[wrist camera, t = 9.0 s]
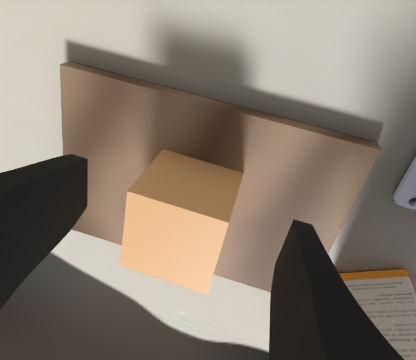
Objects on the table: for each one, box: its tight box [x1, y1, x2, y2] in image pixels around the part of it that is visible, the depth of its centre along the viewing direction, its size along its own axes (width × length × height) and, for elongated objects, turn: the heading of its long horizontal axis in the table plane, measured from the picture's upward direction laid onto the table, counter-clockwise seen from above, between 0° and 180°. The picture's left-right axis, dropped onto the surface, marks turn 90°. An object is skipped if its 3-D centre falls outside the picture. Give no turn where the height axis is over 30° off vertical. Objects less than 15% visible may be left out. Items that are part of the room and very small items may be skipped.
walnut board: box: [60, 62, 381, 292], centre depth 22 cm, size 18×12×1 cm, turn 80°
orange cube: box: [120, 149, 244, 295], centre depth 19 cm, size 5×5×5 cm
